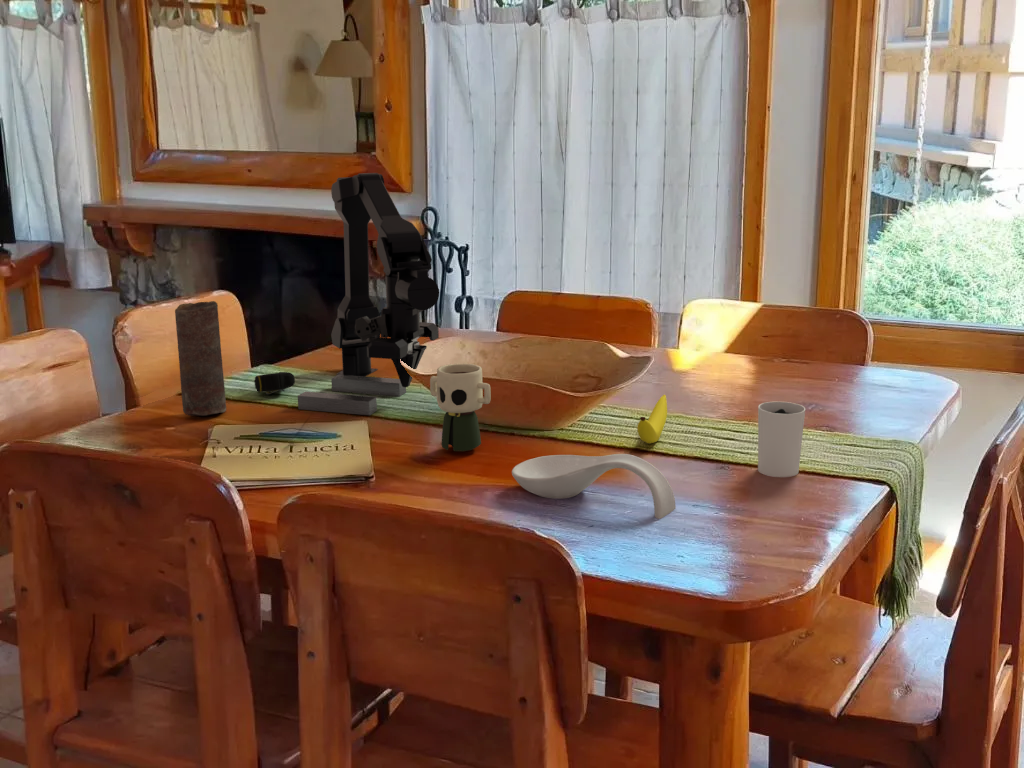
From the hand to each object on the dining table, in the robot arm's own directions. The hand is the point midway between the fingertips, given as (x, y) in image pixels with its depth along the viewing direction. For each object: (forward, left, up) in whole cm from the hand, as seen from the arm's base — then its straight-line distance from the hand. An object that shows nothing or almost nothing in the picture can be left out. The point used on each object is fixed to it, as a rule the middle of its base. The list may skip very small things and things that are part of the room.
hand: (405, 386), depth 195 cm
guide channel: (0, -11, -3) cm, 11 cm away
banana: (+7, +46, -4) cm, 47 cm away
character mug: (+21, +18, -4) cm, 28 cm away
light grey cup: (+19, +67, -4) cm, 70 cm away
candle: (+16, -32, -4) cm, 35 cm away
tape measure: (-1, -24, -3) cm, 24 cm away
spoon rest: (+37, +43, -4) cm, 57 cm away
